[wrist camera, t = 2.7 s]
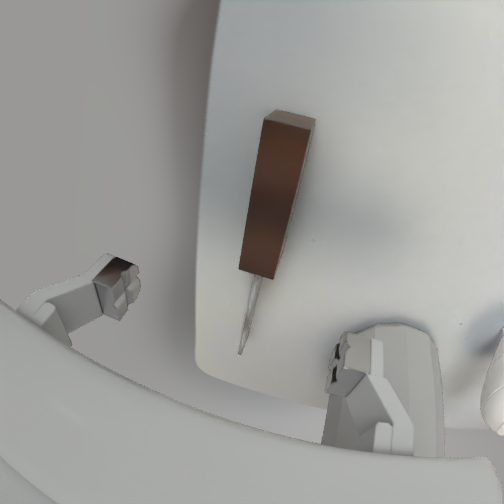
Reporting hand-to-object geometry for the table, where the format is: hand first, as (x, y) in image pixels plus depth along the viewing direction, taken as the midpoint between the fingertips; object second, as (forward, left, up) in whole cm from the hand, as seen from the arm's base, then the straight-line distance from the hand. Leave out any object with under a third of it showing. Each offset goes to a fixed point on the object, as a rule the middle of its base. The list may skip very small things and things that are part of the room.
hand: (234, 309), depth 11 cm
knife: (+2, -4, -11) cm, 12 cm away
